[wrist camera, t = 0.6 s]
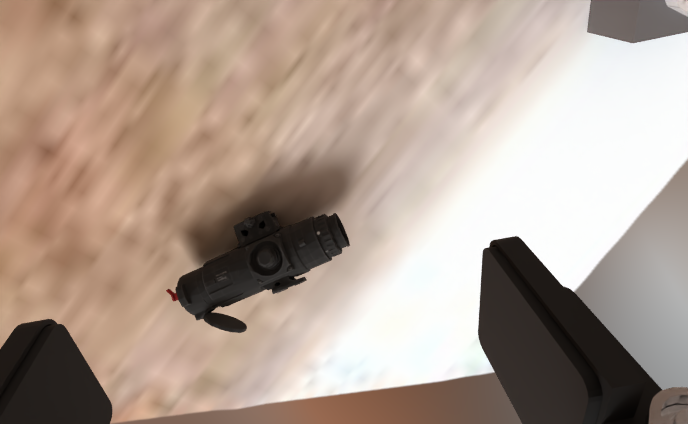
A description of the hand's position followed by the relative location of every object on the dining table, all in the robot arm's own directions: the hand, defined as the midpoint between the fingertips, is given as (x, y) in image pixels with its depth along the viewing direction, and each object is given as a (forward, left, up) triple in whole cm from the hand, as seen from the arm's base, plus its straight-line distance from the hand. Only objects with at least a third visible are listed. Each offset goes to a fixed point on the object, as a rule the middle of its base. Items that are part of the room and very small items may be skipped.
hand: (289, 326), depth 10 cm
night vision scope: (+19, -6, -33) cm, 38 cm away
